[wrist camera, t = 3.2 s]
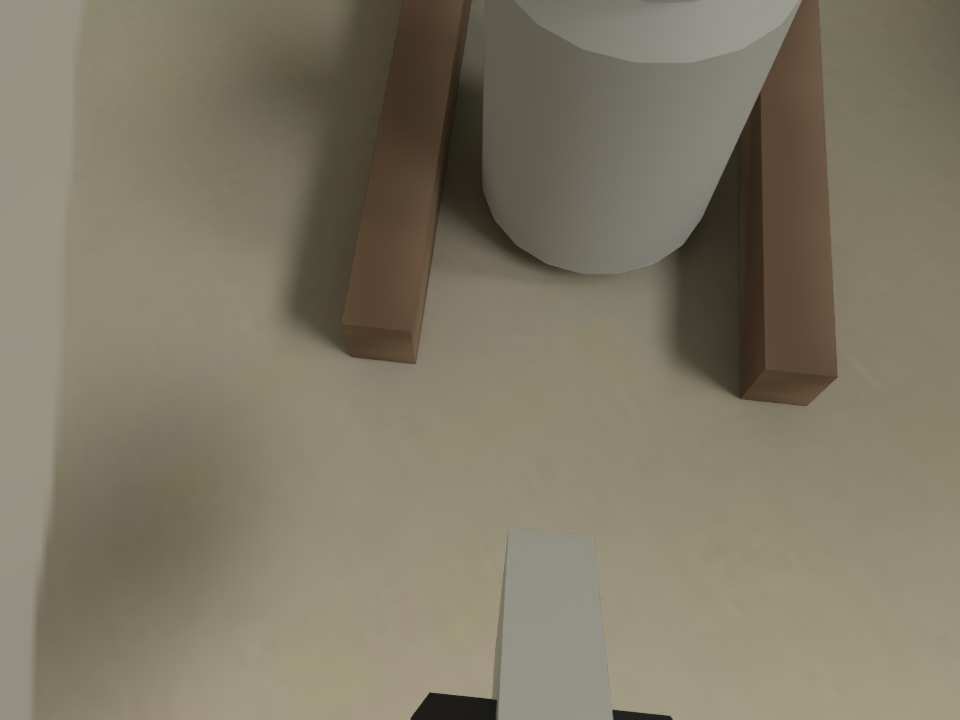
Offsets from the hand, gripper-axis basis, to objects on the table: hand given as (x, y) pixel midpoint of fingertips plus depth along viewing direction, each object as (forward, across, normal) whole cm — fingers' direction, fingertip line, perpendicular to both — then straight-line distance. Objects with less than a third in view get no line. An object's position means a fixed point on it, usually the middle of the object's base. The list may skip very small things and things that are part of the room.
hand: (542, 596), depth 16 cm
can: (+17, +1, +4) cm, 17 cm away
